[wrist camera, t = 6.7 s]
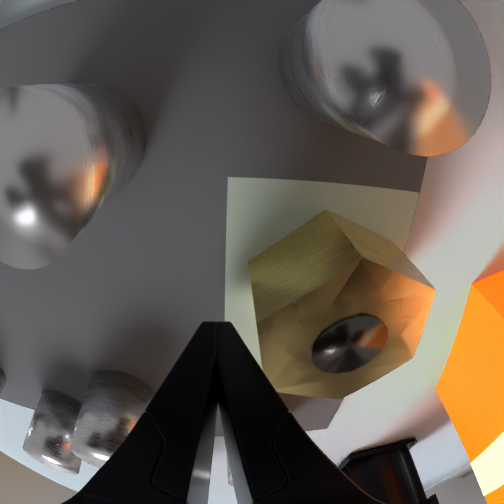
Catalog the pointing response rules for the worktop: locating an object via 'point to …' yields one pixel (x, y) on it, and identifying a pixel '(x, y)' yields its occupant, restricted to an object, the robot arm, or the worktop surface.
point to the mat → (183, 190)
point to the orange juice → (479, 384)
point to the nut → (336, 308)
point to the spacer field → (134, 141)
